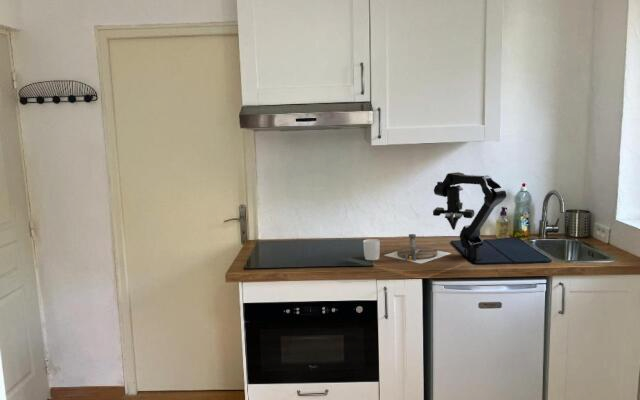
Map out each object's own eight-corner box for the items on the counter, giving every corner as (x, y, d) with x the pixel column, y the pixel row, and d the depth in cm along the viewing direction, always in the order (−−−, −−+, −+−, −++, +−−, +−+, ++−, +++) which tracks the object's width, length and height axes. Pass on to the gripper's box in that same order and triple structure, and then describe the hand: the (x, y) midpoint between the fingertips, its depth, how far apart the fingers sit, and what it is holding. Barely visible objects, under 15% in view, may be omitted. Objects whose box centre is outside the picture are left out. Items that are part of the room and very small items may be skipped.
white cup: (381, 259, 244) (380, 238, 242) (379, 263, 236) (378, 242, 235) (364, 259, 245) (364, 239, 244) (362, 263, 238) (362, 242, 236)
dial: (443, 257, 235) (442, 233, 233) (403, 260, 233) (402, 236, 231) (430, 247, 254) (429, 226, 252) (393, 250, 252) (392, 228, 250)
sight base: (451, 256, 242) (451, 248, 242) (421, 266, 228) (420, 258, 227) (414, 249, 260) (414, 242, 259) (383, 258, 245) (383, 250, 245)
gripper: (477, 195, 243) (477, 226, 247) (439, 193, 253) (439, 223, 256) (471, 201, 234) (471, 233, 238) (432, 199, 243) (433, 229, 247)
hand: (453, 229), depth 245 cm, fingers closed
